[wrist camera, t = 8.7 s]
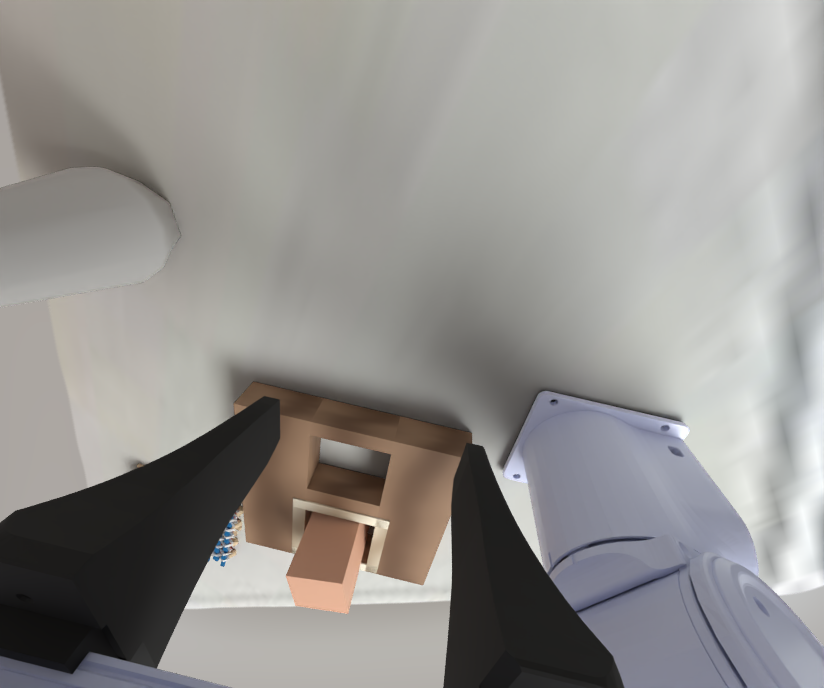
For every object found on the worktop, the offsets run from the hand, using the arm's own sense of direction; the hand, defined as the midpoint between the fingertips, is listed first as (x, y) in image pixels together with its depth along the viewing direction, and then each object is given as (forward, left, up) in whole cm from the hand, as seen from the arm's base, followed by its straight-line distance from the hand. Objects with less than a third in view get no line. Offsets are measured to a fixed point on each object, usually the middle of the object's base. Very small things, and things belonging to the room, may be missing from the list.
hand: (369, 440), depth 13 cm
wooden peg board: (+2, +15, -9) cm, 18 cm away
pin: (+2, +19, -10) cm, 21 cm away
